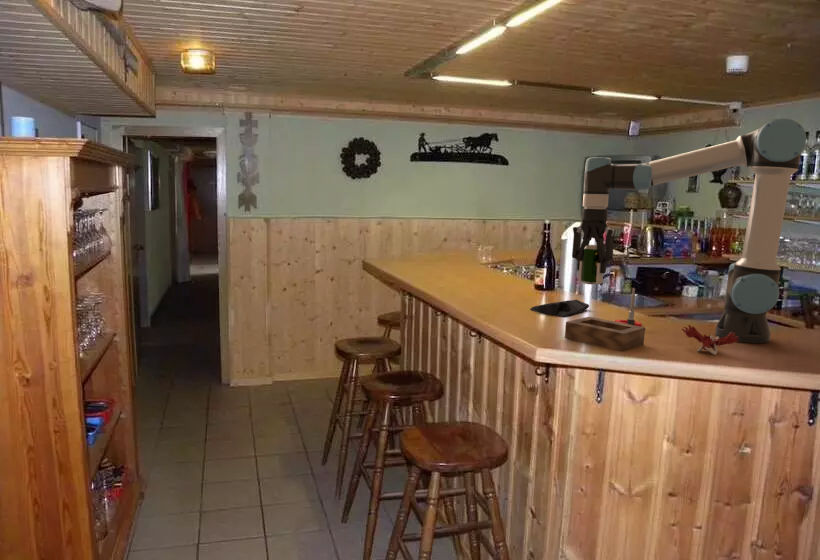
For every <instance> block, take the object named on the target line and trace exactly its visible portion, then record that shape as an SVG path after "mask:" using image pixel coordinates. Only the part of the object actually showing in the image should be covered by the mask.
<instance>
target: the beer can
mask: <svg viewBox="0 0 820 560" xmlns="http://www.w3.org/2000/svg"><path fill="white" fill-rule="evenodd" d="M599 261H600V260H599V254H598V249H597V244H589V245H585V247H584V252H583V268H582V284H584V285H597V284H596V276H597V263H599Z"/></svg>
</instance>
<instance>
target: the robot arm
mask: <svg viewBox="0 0 820 560" xmlns="http://www.w3.org/2000/svg"><path fill="white" fill-rule="evenodd" d="M806 144H807V133H806V130H805V129H804V127H803V126H802V124H800V123H799V122H798V121H796V120H794V119H792V118H784V117H781V118H775V119H772V120H771V119H770V120H769V121H767V122H765V123H764V124H763V125H762V126H761V127H760V128H758V129H756V130H754V131H752V132H749V133H748V132H747V133H745V134H742V135H738V137H737V138H736V139H735V140H731V141H727V142H725V143H720V144H716V145H713V146H707V147H703V148H700V149H695V150H692V151H689V152H684V153H679V154H676V155H673V156H669V157H665V158H660V159H656V160H651V161H649V162H648V161H647V162H645V163H639V164H637V163H633V164H632V163H631V164H623V163H622V164H617V163H615V164H614V163H612V159H611V158H610V157H605V156H604V157H598V156H595V157H594V156H593V157H589V158H587V159H586V160H585V161H586V162H585V166H584V167H585V169H584V174H583V175H584V178H583V181H584V182H583V197H582V198H583V200H582V207H584V208H582V213H581V214H582V215H581V224H580V225H579V226H573V227H572V232H573V240H572V252H571V256H572V259H576V260H577V265H576V266H577V267H576V270H577V271H578V282H579V283H581V282H582V268H583V252H584V247H585V245H590V242H591V240H592V239H594V241H595V242H596V243H595V245H597V249H598V254H599V260H600V261H599V263H597V276H596V284H595V285H599V284H600V285H601V284H603V283H604V279H603V278H604V274H605V273H606V272H607V263H610V262H612V261H613V260H614V240H615V239H614V237H615V233H616V232H617V231H616V229H615V228H610V227H608V224H607V223H608V222H607V221H608V211H609V210H608V209H607V208H608V207H609V194H610V190H630V191H642V190H646V191H647V190H650V189H651V187H652V186H656V185H661V184H664V183H670V182H673V181H677V180H678V181H679V180H682V179H687V178H691V177H695V176H699V175H703V174H704V175H705V174H709V173H712V172H716V171H720V170H724V169H729V168H734V167H738V166H742V167H744V168H748V167H750V169H751V170H752V171H753V173H754V181H753V187H752V191H751V192H752V194H751V198H750V199H751V200H750V206H749V213H748V217H747V223H746V229H745V230H746V231H745V237H744V242H743V248H742V253H741V258H740V259H739V260H737V261H736V262H733V263H731V264H730V265H729V268H728V271H727V275H728V276H727V283H726V289H725V290H726V291H725V292H726V293H725V297H724V298H725V299H724V307H723V308H724V310H723V312H722V314H721V316H720V318H719V320H718V322H717V324H716V327H715V332H714V335H716V337H717V336H719V338H723V337H725V336H727V335H728V334H729V333H730V332H733V333H732V334H734V332H735V334H736V335H735V336H734V337H739V338H737V340H738V339H739V340H738V342H739V343H740V342H741V343H749V344H765V343H767V344H768V343H769V342H770V340H771V331H770V330H771V329H770V326H769V322H768V318H767V314H768V313H767V312H769V311H770V310H771V309H773V308H774V307H775V306H776V304H777V303H778V300H779V299H780V298H779V297H780V289H779V282H780V281H779V280H780V275H781V271H782V270H781V269H782V268H781V267H780V266H779V265H778V263H777V258H778V257H777V255H778V251H779V244H780V239H781V233H782V227H783V223H784V221H783V220H784V215H785V211H786V210H785V209H786V203H787V198H788V194H789V193H788V192H789V188H790V182H791V176H792V175H793V174H795V173H796V172H798V171H799V167H800V160H801V155H802V152H803V151H804V149H805V148H806V147H805V146H806ZM582 233H583V236H582ZM604 234H605V235H606V236H604ZM604 237H605V238H604ZM604 240H605V241H604Z"/></svg>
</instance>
